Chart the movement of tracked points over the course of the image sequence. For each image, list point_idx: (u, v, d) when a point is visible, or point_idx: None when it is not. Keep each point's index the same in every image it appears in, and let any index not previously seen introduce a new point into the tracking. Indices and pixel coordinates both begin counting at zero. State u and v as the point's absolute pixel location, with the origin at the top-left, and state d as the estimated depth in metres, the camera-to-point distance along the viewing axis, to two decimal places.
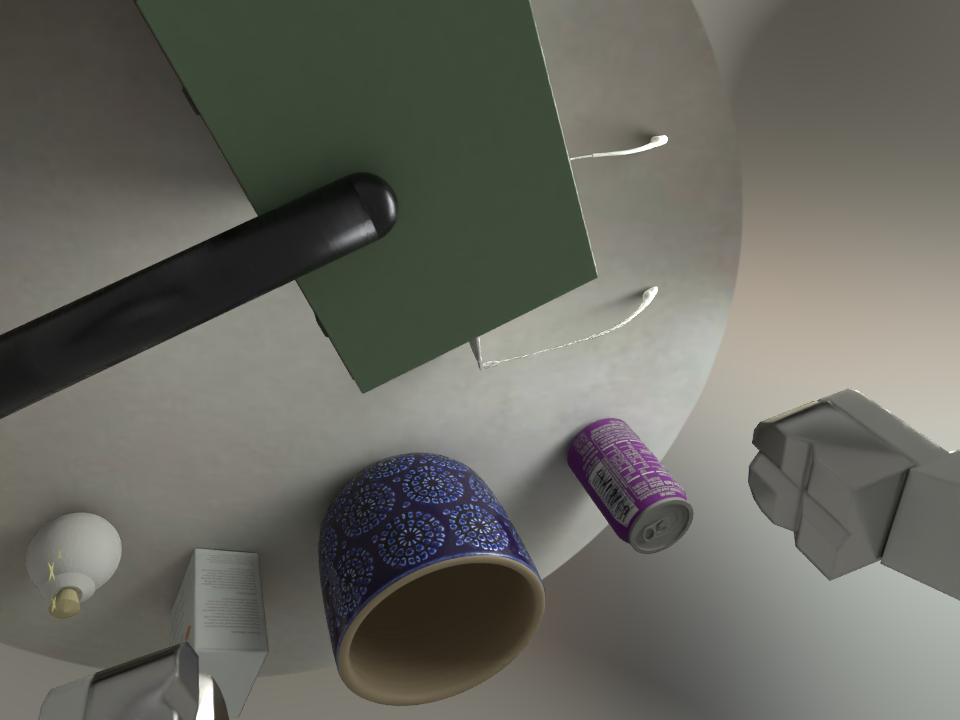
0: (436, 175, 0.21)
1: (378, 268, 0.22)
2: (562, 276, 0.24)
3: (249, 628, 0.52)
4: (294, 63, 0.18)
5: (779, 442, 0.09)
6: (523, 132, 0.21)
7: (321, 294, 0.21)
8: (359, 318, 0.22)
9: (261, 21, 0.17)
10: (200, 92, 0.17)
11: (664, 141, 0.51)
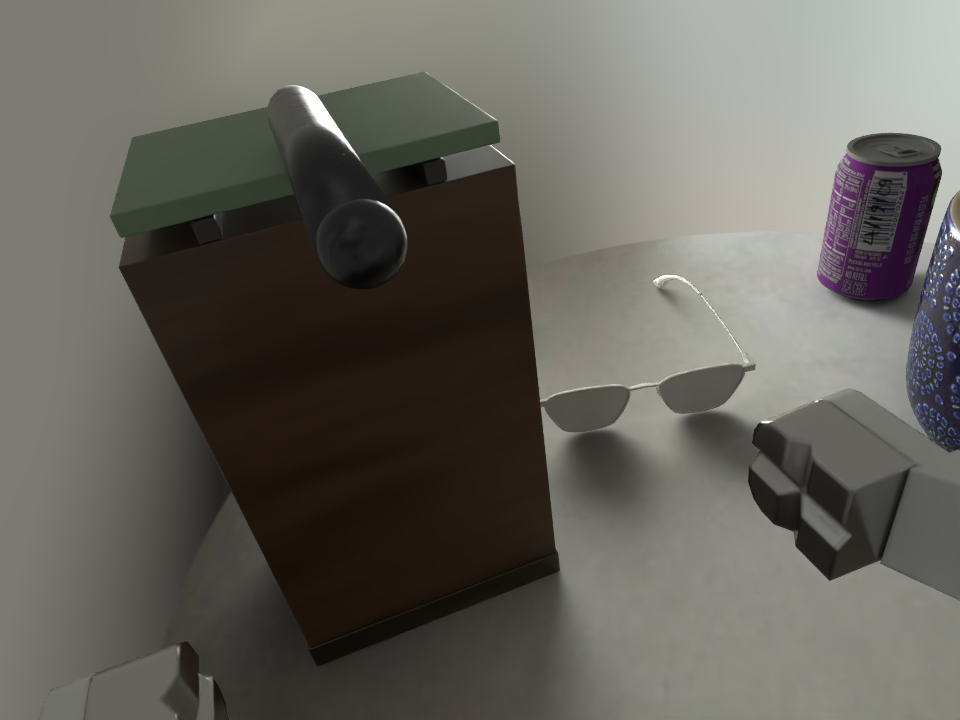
0: None
1: (370, 130, 0.25)
2: (417, 80, 0.30)
3: None
4: (193, 169, 0.24)
5: (780, 442, 0.09)
6: None
7: (381, 144, 0.23)
8: (414, 130, 0.24)
9: (158, 180, 0.23)
10: (184, 194, 0.22)
11: None
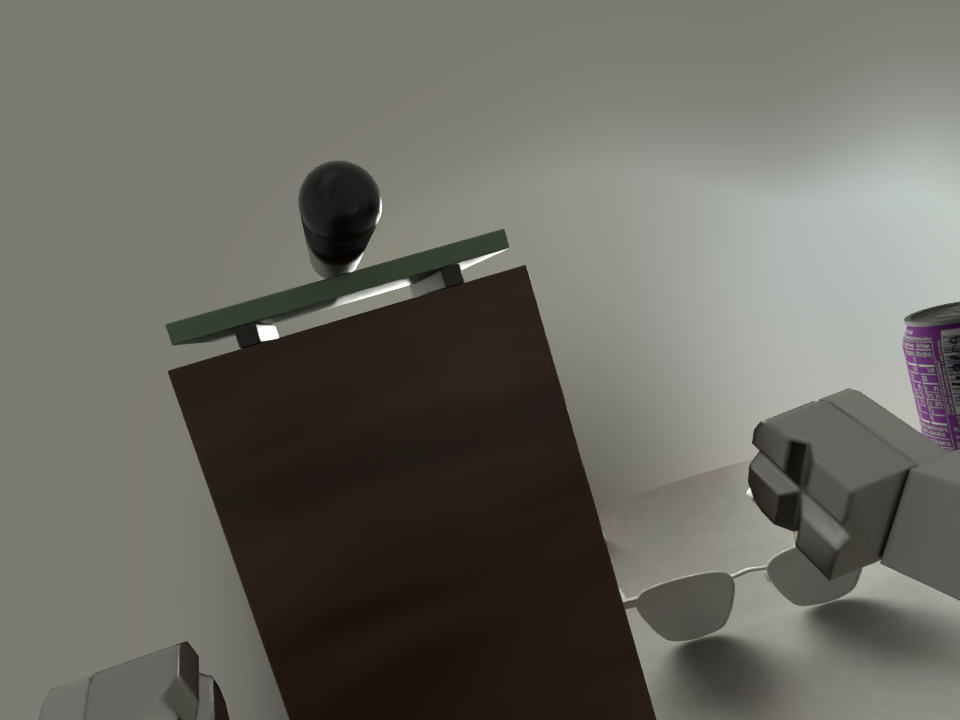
0: None
1: None
2: None
3: None
4: None
5: (780, 442, 0.09)
6: None
7: None
8: None
9: None
10: (231, 306, 0.25)
11: None
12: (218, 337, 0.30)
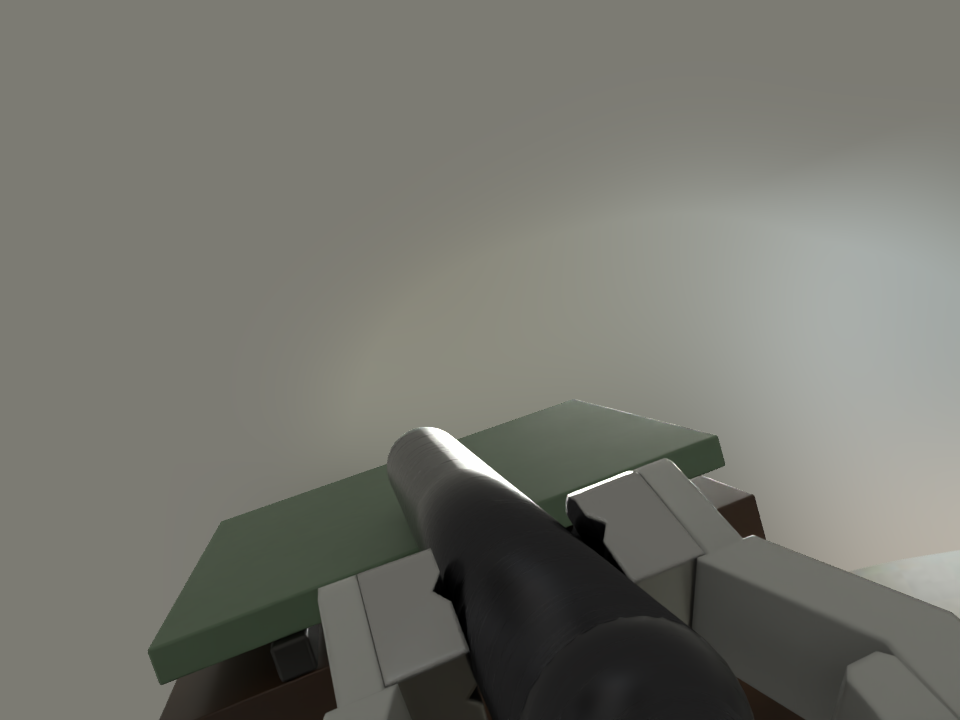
0: None
1: (527, 473, 0.18)
2: (568, 408, 0.24)
3: None
4: (284, 558, 0.17)
5: (581, 518, 0.09)
6: None
7: (551, 490, 0.16)
8: (593, 464, 0.17)
9: (234, 580, 0.16)
10: (264, 600, 0.14)
11: None
12: None
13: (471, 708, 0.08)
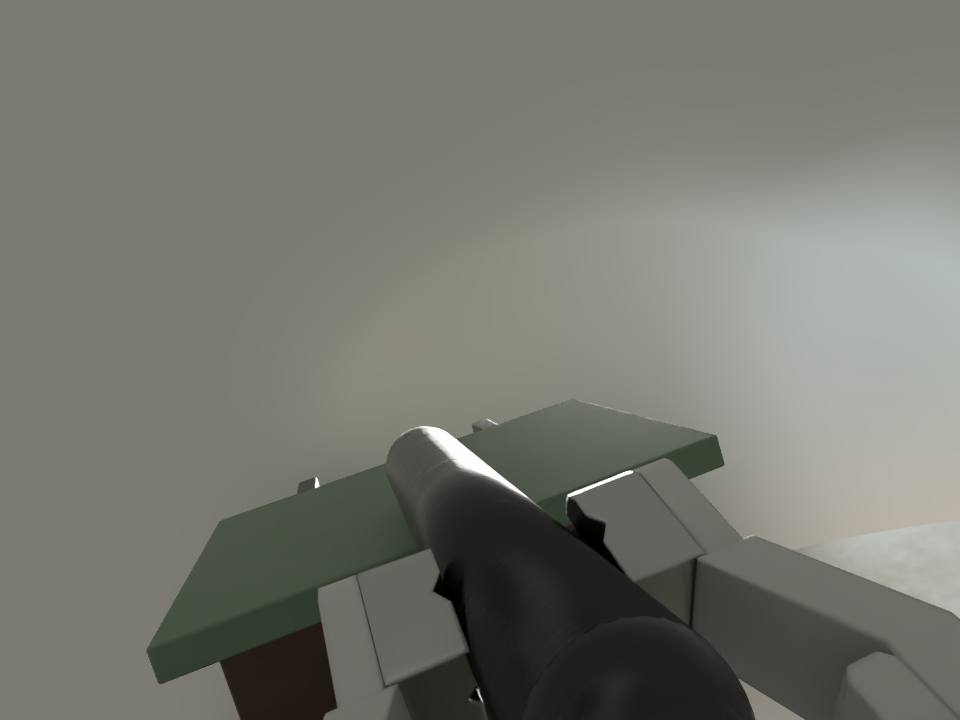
0: None
1: (526, 473, 0.18)
2: (567, 408, 0.24)
3: None
4: (283, 557, 0.17)
5: (582, 519, 0.09)
6: None
7: (550, 490, 0.16)
8: (592, 464, 0.17)
9: (233, 579, 0.16)
10: (263, 600, 0.14)
11: None
12: None
13: (471, 708, 0.08)
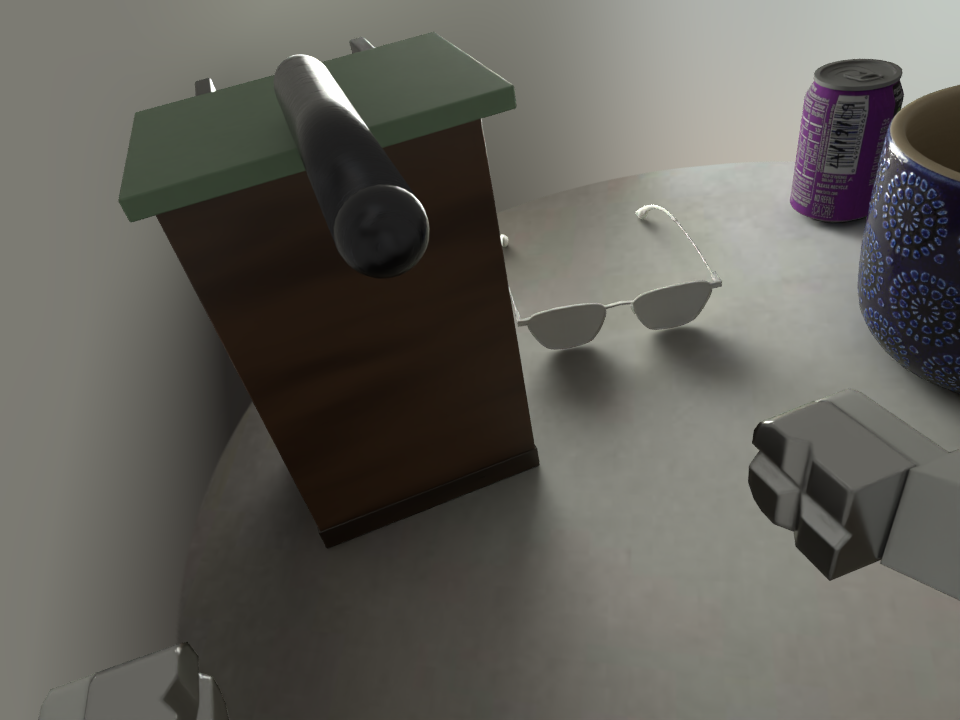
0: None
1: (380, 99, 0.24)
2: (426, 41, 0.29)
3: None
4: (200, 147, 0.23)
5: (779, 442, 0.09)
6: None
7: (393, 115, 0.22)
8: (426, 98, 0.23)
9: (165, 160, 0.23)
10: (193, 174, 0.21)
11: None
12: None
13: None
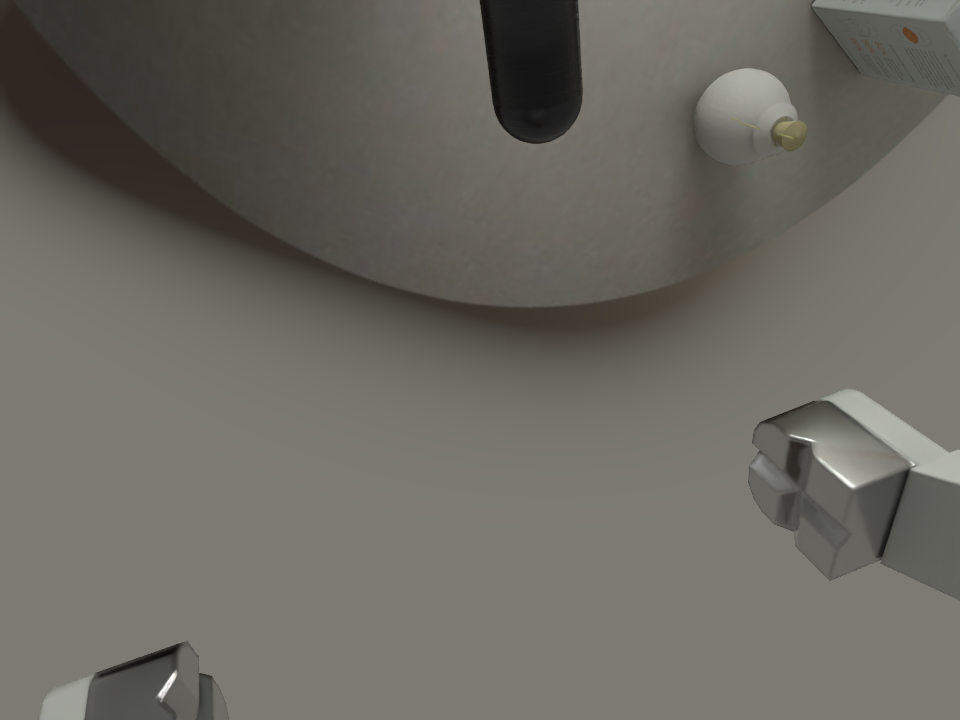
0: None
1: None
2: None
3: None
4: None
5: (780, 442, 0.09)
6: None
7: None
8: None
9: None
10: None
11: None
12: None
13: None
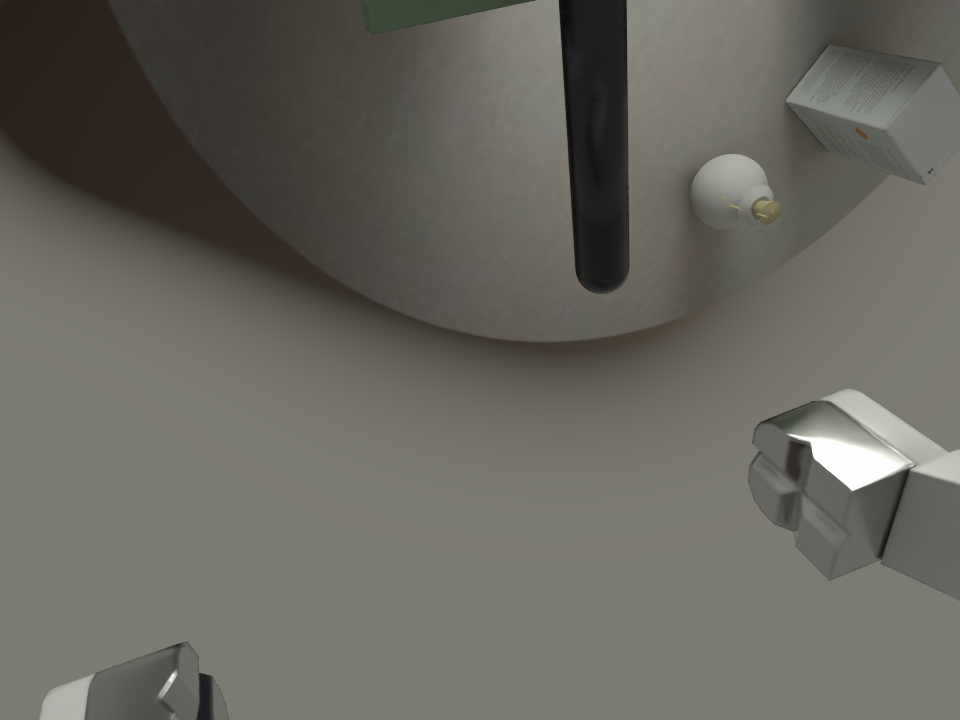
0: None
1: None
2: None
3: (902, 74, 0.48)
4: None
5: (780, 442, 0.09)
6: None
7: None
8: None
9: None
10: (446, 8, 0.20)
11: None
12: None
13: None
